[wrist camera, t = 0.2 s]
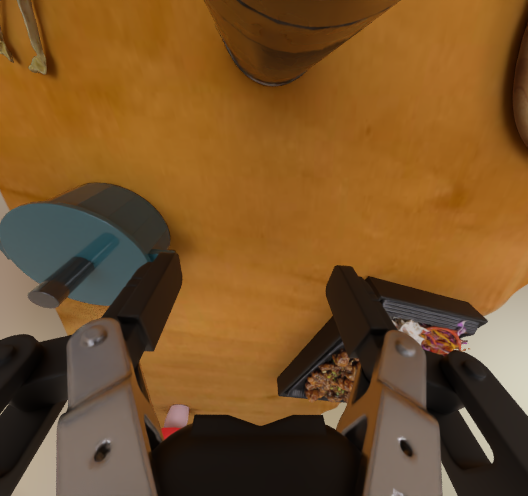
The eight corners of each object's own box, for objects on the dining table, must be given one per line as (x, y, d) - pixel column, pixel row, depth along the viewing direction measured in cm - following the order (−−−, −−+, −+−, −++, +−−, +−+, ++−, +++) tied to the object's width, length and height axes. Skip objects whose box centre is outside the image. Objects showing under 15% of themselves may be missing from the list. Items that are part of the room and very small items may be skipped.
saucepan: (19, 174, 23) (-58, 196, 18) (183, 190, 25) (161, 215, 19) (71, 261, 31) (30, 296, 26) (193, 269, 33) (179, 303, 27)
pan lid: (-26, 191, 18) (-136, 223, 13) (139, 206, 19) (98, 240, 14) (54, 295, 27) (6, 340, 22) (165, 301, 28) (145, 344, 23)
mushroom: (200, 408, 74) (192, 454, 64) (180, 414, 77) (169, 458, 67) (178, 400, 68) (165, 449, 59) (157, 407, 72) (142, 454, 62)
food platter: (368, 276, 35) (403, 329, 27) (468, 302, 40) (523, 354, 32) (277, 378, 60) (280, 422, 51) (346, 386, 65) (359, 428, 56)
